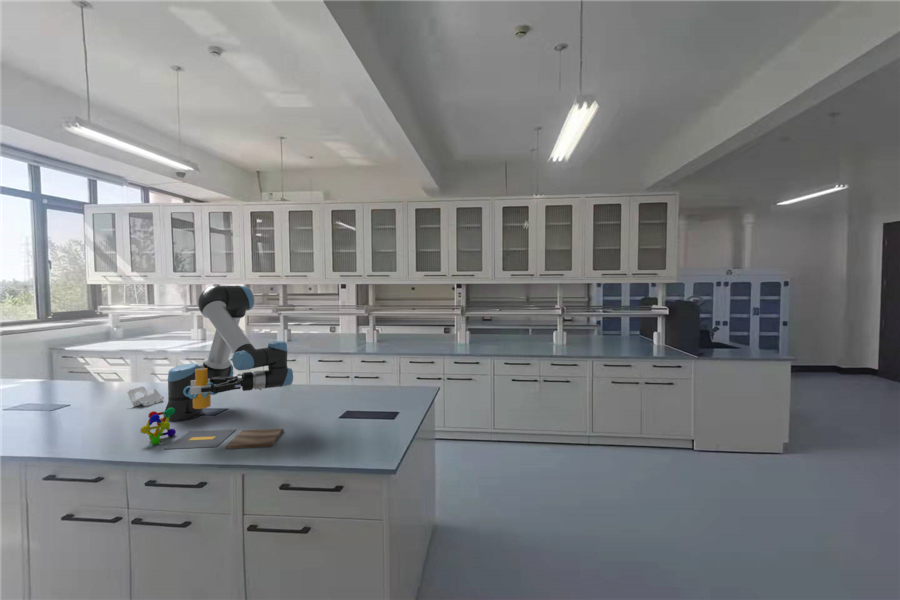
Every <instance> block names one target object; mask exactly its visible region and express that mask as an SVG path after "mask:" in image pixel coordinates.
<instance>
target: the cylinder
mask: <svg viewBox="0 0 900 600" xmlns="http://www.w3.org/2000/svg"><path fill="white" fill-rule="evenodd" d="M195 382H196V387H197V386H206V385H210V384H213V383H211V382H210V383H208V373H207V368H198V369H195ZM214 385H216V384H214ZM190 387H193V386H187V387H186V388H185V389H184V390H183V393H184V395H185V396H187V397H189V398H190V399H193V408H194V409H203V410H204V409H207V408H210V407H211V406H212V401H211V400H212V399H211V396H216V395H217V394H218V393H215V394H214V393H211V392H210V393H202V394H193V395H194V396H193V395H190V390H189V392H188V394H186V389H188V388H190ZM192 396H193V397H192Z"/></svg>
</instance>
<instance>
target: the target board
mask: <svg viewBox="0 0 900 600" xmlns="http://www.w3.org/2000/svg"><path fill="white" fill-rule="evenodd" d="M282 433H284V428H267V429H266V428H264V429H262V428H261V429H259V428H258V429H242V430H241V431H240V432H238V433H237V434H236V435H235V436H234V437H233V438H232V439H231V440H230V441H229V442H228V443H226V444H225V449H229V450H230V449H250V448H271V447H272V446H273V445H274V443H275V442H276V441H277V440H278V439H279V437H281V434H282Z"/></svg>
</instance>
